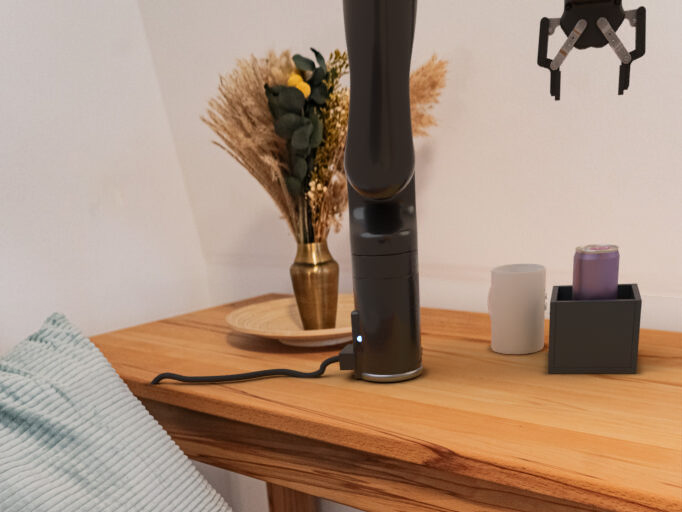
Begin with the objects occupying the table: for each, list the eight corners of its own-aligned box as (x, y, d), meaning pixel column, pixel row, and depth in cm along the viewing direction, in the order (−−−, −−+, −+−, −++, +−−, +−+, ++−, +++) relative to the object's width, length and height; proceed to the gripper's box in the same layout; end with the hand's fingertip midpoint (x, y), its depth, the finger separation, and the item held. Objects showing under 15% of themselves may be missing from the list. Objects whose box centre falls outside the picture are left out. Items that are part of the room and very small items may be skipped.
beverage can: (614, 362, 116) (622, 249, 110) (570, 362, 117) (574, 251, 111) (611, 350, 121) (618, 243, 115) (568, 351, 122) (573, 245, 116)
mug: (513, 334, 138) (514, 258, 133) (555, 348, 128) (558, 267, 122) (469, 341, 135) (468, 265, 130) (508, 357, 125) (509, 275, 120)
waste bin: (547, 373, 116) (550, 302, 112) (550, 351, 126) (553, 285, 122) (636, 373, 113) (641, 300, 109) (632, 351, 123) (637, 283, 119)
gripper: (649, -41, 112) (640, 93, 119) (540, -28, 116) (537, 102, 123) (653, -50, 106) (643, 93, 113) (538, -36, 110) (535, 102, 116)
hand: (588, 97), depth 118 cm, fingers open, 8 cm apart
